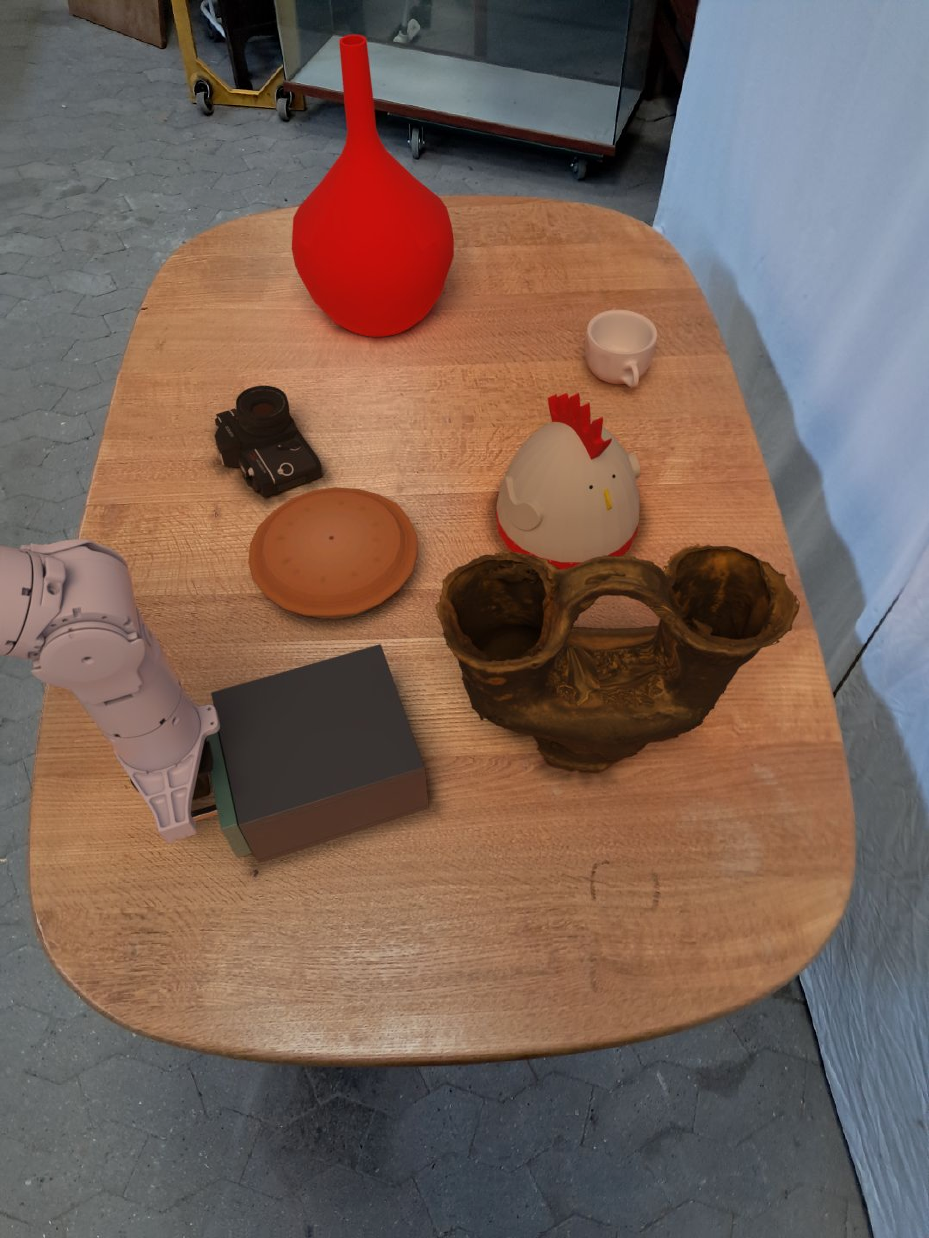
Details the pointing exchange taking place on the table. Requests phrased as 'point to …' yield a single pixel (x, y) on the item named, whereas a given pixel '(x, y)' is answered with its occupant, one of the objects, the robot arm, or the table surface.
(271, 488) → the film camera
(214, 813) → the drawer
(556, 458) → the kitchen timer
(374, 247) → the vase
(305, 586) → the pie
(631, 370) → the teacup
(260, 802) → the dark grey storage box
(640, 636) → the pottery vessel
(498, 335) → the table surface
